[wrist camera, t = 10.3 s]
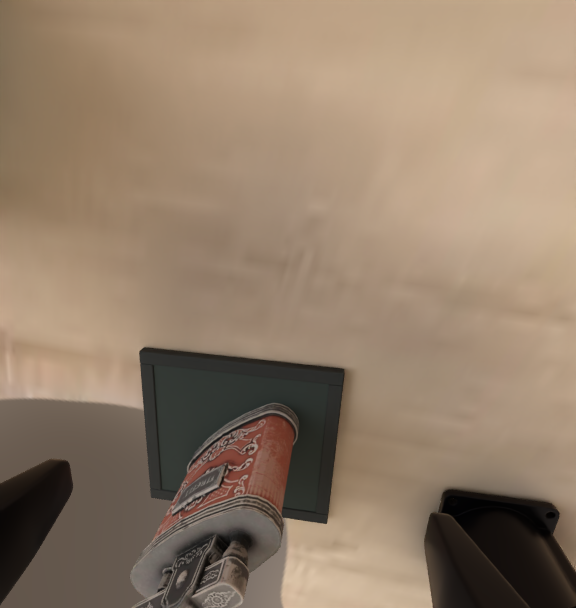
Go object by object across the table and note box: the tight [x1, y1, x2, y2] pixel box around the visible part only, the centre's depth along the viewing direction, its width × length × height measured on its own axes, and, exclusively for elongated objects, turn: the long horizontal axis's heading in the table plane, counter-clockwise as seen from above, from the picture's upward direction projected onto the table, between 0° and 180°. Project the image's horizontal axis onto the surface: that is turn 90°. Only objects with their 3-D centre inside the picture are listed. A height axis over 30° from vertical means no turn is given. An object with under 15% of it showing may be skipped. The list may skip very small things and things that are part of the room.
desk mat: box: [139, 348, 344, 524], centre depth 23 cm, size 12×11×1 cm
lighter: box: [130, 403, 299, 608], centre depth 18 cm, size 8×3×10 cm, turn 130°
